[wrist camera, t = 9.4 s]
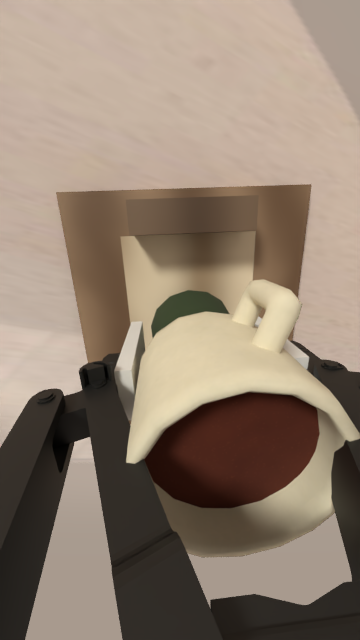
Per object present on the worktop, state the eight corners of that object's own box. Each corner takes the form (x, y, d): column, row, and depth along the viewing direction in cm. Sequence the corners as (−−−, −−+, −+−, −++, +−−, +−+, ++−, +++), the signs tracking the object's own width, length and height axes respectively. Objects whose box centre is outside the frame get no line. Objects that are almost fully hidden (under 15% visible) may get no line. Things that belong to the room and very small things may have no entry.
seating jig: (102, 419, 24) (91, 453, 20) (62, 195, 17) (34, 182, 13) (278, 404, 25) (299, 434, 21) (303, 187, 18) (340, 173, 14)
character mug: (207, 392, 21) (271, 601, 9) (129, 372, 20) (81, 584, 8) (258, 275, 18) (462, 354, 6) (170, 243, 17) (198, 258, 5)
